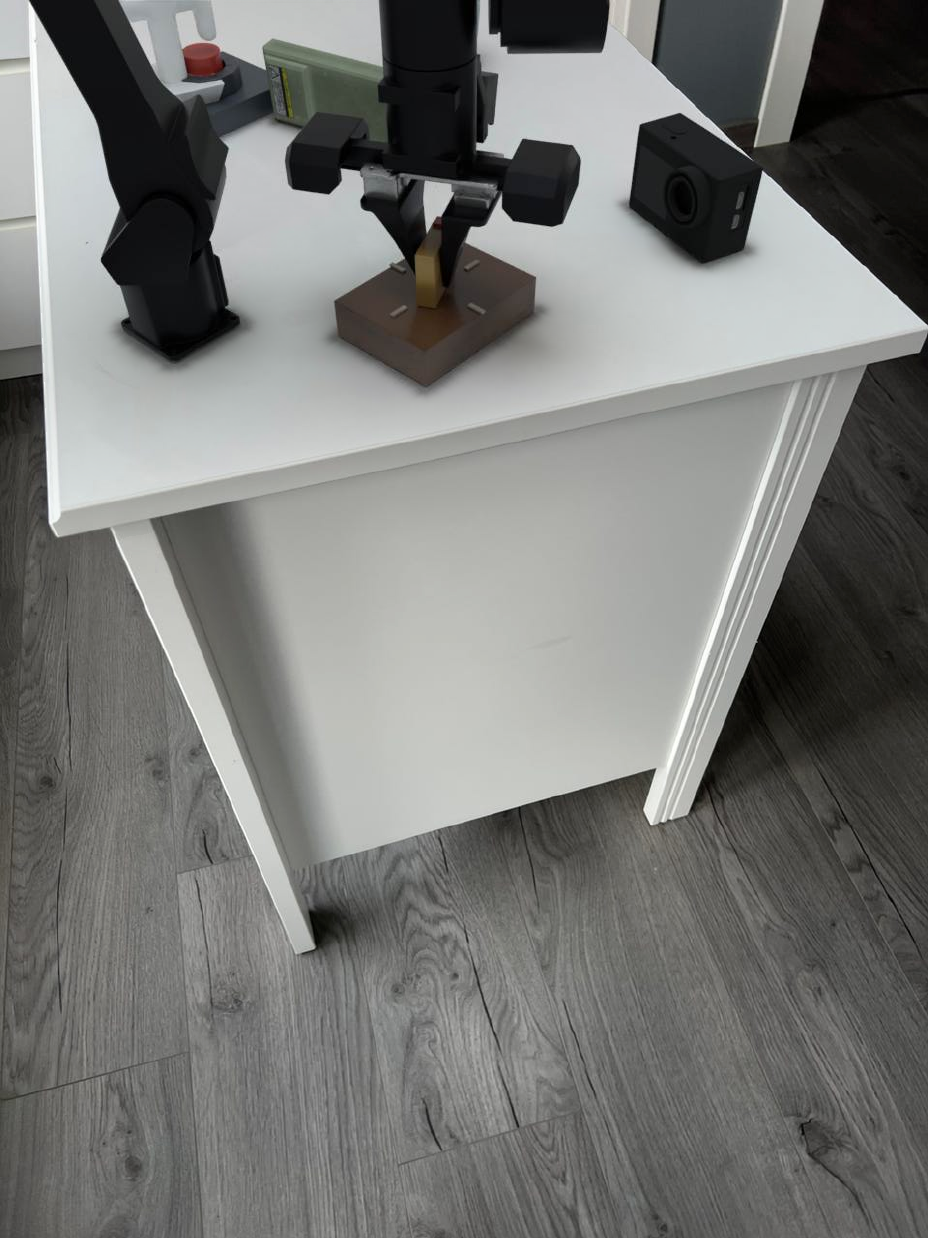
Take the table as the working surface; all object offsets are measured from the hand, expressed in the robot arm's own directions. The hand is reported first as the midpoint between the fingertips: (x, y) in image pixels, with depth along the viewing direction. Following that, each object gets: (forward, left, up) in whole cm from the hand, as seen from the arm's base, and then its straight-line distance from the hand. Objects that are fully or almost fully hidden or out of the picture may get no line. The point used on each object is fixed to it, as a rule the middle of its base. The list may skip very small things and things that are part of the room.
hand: (436, 282), depth 72 cm
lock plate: (0, 0, -4) cm, 4 cm away
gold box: (0, 0, 0) cm, 0 cm away
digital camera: (+23, -6, -4) cm, 24 cm away
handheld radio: (+17, +22, -4) cm, 28 cm away
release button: (+11, +40, 0) cm, 42 cm away
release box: (+11, +40, -4) cm, 42 cm away
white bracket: (+8, +41, +6) cm, 42 cm away
